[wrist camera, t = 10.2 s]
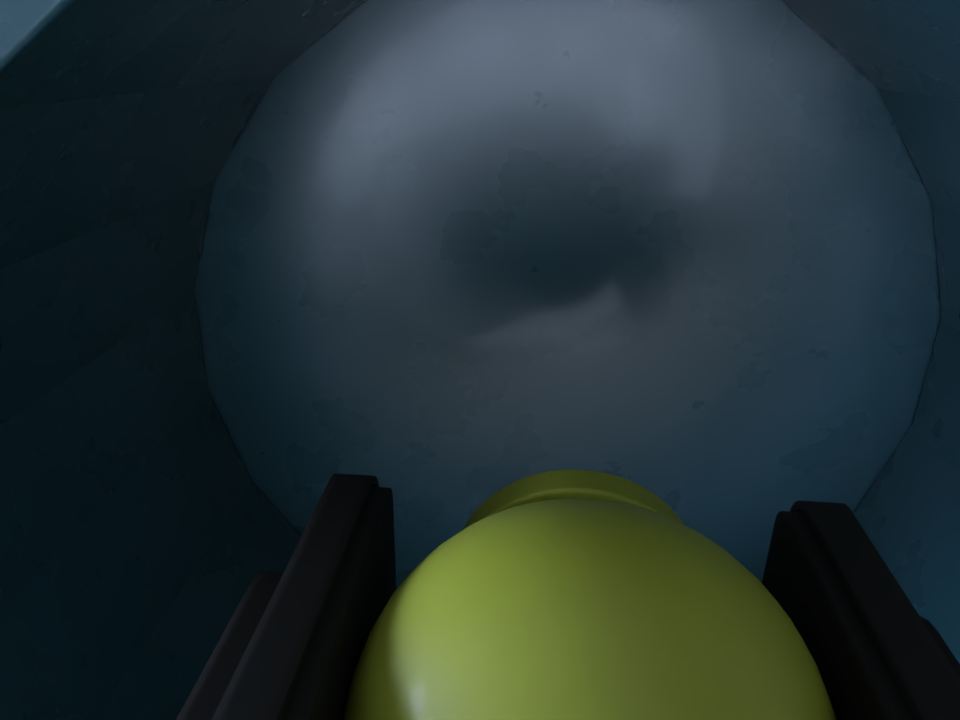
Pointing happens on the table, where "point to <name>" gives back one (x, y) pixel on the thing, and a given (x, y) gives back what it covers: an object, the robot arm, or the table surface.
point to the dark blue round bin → (454, 292)
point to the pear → (583, 619)
